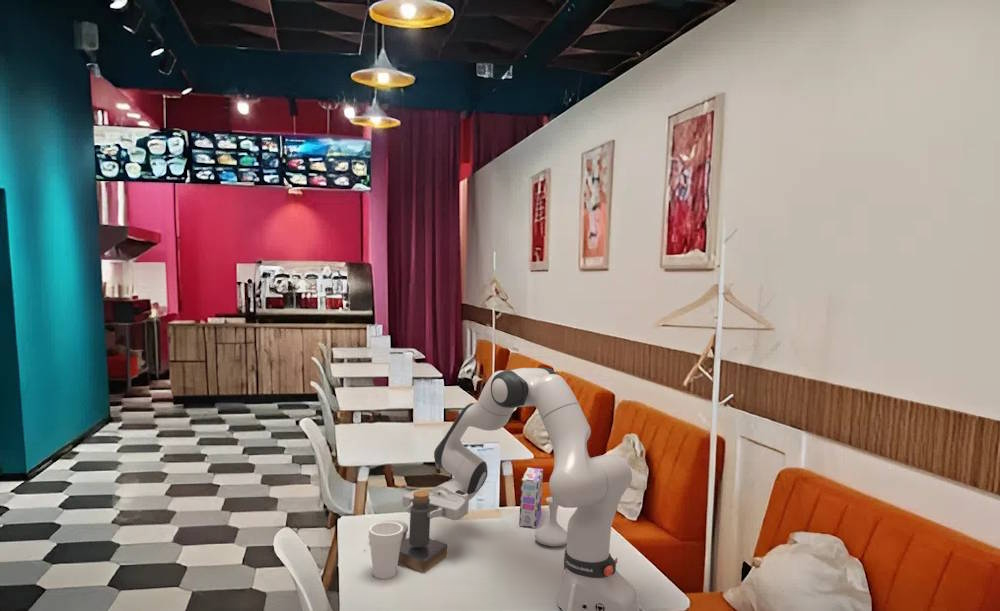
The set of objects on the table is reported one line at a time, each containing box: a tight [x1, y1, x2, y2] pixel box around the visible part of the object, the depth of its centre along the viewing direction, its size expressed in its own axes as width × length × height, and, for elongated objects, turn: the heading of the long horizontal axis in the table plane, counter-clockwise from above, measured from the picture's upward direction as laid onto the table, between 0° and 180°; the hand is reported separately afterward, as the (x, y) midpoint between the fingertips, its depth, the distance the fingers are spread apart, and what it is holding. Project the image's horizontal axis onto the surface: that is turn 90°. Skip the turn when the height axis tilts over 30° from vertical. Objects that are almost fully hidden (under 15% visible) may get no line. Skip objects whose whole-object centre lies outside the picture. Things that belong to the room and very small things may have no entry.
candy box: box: [518, 467, 544, 529], centre depth 220 cm, size 14×6×16 cm, turn 168°
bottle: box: [408, 490, 431, 547], centre depth 188 cm, size 6×6×15 cm
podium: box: [397, 537, 448, 574], centre depth 188 cm, size 12×12×4 cm
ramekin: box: [377, 519, 409, 542], centre depth 198 cm, size 11×11×5 cm
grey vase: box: [533, 462, 568, 547], centre depth 204 cm, size 13×11×25 cm
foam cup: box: [368, 521, 403, 580], centre depth 179 cm, size 10×9×13 cm
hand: (418, 513), depth 187 cm, fingers closed on bottle, 6 cm apart
